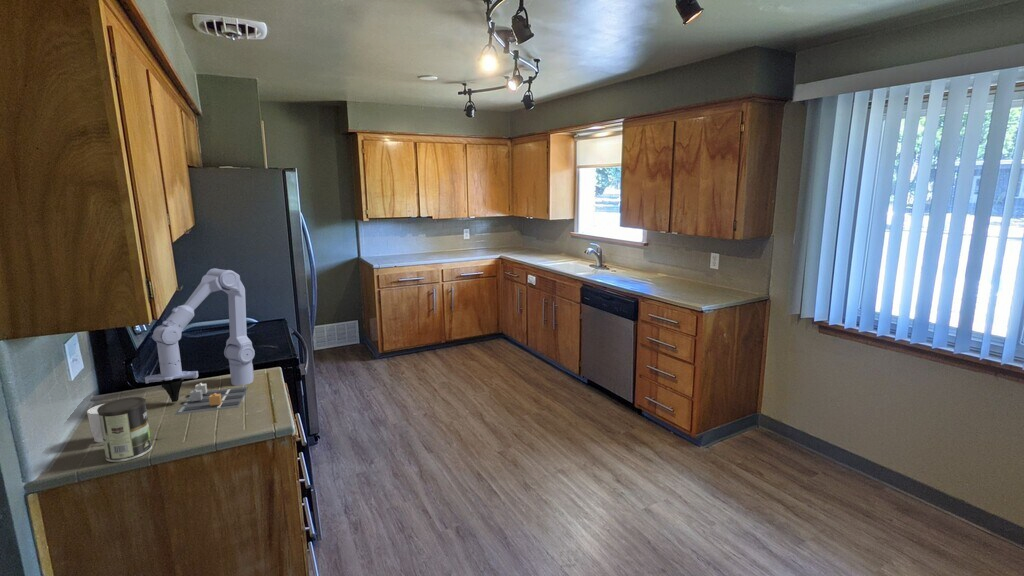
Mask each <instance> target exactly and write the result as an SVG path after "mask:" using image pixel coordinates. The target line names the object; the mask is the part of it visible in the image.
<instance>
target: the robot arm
mask: <svg viewBox="0 0 1024 576" xmlns="http://www.w3.org/2000/svg"><path fill="white" fill-rule="evenodd" d="M218 291H223V292H224V293H226V294H227V296H228V297H227V298H228V317H229V318H228V320H229V321H228V324H229V325H228V326H229V337H228V339H226V341H225V343H226V344H225V345H226V346H225V348H224V351H223V354H224V357H225V358H226V359H227V360H228V364H229V372H230V383H231V385H232V386H239V387H240V386H245V385H249V384H251V383H253V382H254V377H255V375H254V364H253V359H254V358H255V355H256V353H255V352H256V351H255V349H254V347H253V342H252V340H251V339H250V338H249V337H248V335H247V334H248V333H247V332H248V330H247V308H246V307H247V306H246V304H247V302H246V300H247V299H246V288H245V286H244V284H243V282H242V280H241V275H240V274H238V273H237V272H235V271H234V270H231V269H227V270H226V269H220V268H215V267H214V268H210V269H209V270H208V271H206V274H204V275H203V276H202V277H201V281H200V283H199V284H198V285H197V287H196V288H195V289H194V291H192V293H191V295H190V296H189V297H188V299H187V300H186V301H185V302H184V304H182V305H177V306H176V307H173V309H172V310H171V314H169V316H168V317H167V318H166V320H163V321H162V323H161V324H159V325H158V326H156V327H155V328H154V330H153V334H151V338H152V340H153V341H154V342H155V343H156V348H157V355H158V363H159V368H160V373H157V374H152V375H146V376H145V377H144V381H145V384H149V383H155V382H157V383H158V382H161V385H160V386H161V387H162V388H163V389H164V391H166V393H167V395H168V396H169V398H170V400H171V402H172V403H176V402H178V401H179V395H180V391H181V387H182V386H183V381H184V380H185V379H187V380H188V379H198V377H199V371H198V370H191V371H188V370H183V369H182V362H181V361H182V360H181V353H180V347H179V341H180V340H181V339H182V332H183V330H184V329H186V327H187V325H189V323H190V322H191V320H192V319H193V318H194V317H195V310H196V309H197V308H198V306H200V305H201V304H202V302H203V301H204V300H205V299H206V298H207V297H208V296H209V295H210V294H211V293H214V292H218Z"/></svg>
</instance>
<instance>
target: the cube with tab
mask: <svg viewBox="0 0 1024 576" xmlns="http://www.w3.org/2000/svg"><path fill="white" fill-rule="evenodd" d="M194 388H195V389H197V390H202V394H206V393H207V391H208V385H207V383H203V382H200V383H198V384H197V383H196V385H194ZM195 389H194V390H195Z"/></svg>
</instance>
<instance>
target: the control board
mask: <svg viewBox="0 0 1024 576" xmlns="http://www.w3.org/2000/svg"><path fill="white" fill-rule="evenodd" d="M248 389H249V386H243V387H242V386H241V387H233V388H225V389H215V390H207V393H206V394H202V395H203V399H202V400H199V401H191V398H190V395H189V396H188V397H187V398H186V399H185V400H184V402H183V403H182V404H181V406H179V409H177V410H176V412H175V414H174V416H176V415H184V414H193V413H194V414H195V413H203V412H211V411H217V410H218V411H220V410H229V409H235V408H236V409H237V408H239V406H240V405H241V403H242V401H243V399H244V398H245V395H246V393H247V390H248ZM214 393H216V394H221V400H222V403H221V404H220V405H212V406H210V402H209V396H210V395H213V394H214Z"/></svg>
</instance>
